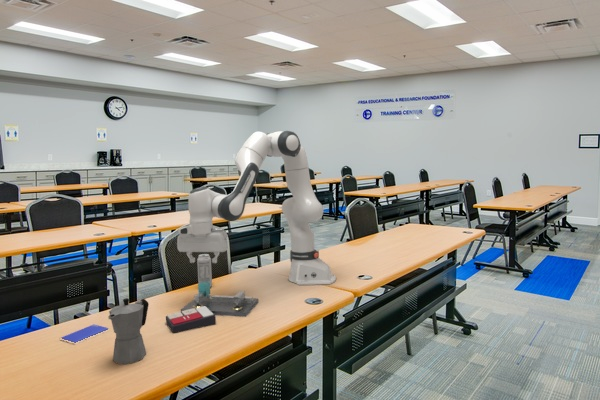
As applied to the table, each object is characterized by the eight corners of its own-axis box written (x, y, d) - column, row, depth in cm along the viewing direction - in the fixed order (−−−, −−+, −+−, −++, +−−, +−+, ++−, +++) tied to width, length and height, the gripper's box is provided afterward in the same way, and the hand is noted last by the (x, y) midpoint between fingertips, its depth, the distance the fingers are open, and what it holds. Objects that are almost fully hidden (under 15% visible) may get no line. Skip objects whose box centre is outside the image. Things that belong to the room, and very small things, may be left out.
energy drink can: (213, 285, 198) (212, 253, 197) (209, 289, 192) (208, 256, 191) (201, 285, 199) (199, 253, 197) (196, 289, 193) (195, 256, 191)
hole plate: (258, 302, 174) (258, 287, 174) (246, 316, 159) (245, 301, 158) (198, 299, 179) (197, 285, 179) (180, 313, 164) (179, 298, 163)
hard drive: (93, 324, 152) (59, 337, 142) (108, 327, 148) (75, 342, 138) (93, 328, 153) (59, 342, 142) (108, 332, 149) (75, 346, 138)
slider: (210, 298, 175) (209, 281, 174) (201, 305, 166) (200, 288, 165) (203, 297, 175) (202, 281, 175) (193, 305, 167) (192, 287, 166)
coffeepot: (125, 370, 120) (121, 307, 118) (100, 365, 124) (95, 304, 122) (162, 347, 135) (159, 291, 133) (138, 343, 138) (134, 288, 136)
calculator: (165, 314, 154) (205, 304, 161) (166, 325, 155) (206, 315, 162) (172, 324, 144) (215, 313, 152) (173, 336, 145) (216, 324, 152)
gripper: (229, 227, 171) (231, 261, 173) (181, 227, 175) (183, 260, 177) (223, 229, 165) (225, 265, 167) (174, 230, 169) (176, 264, 171)
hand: (203, 262), depth 172 cm, fingers open, 8 cm apart
